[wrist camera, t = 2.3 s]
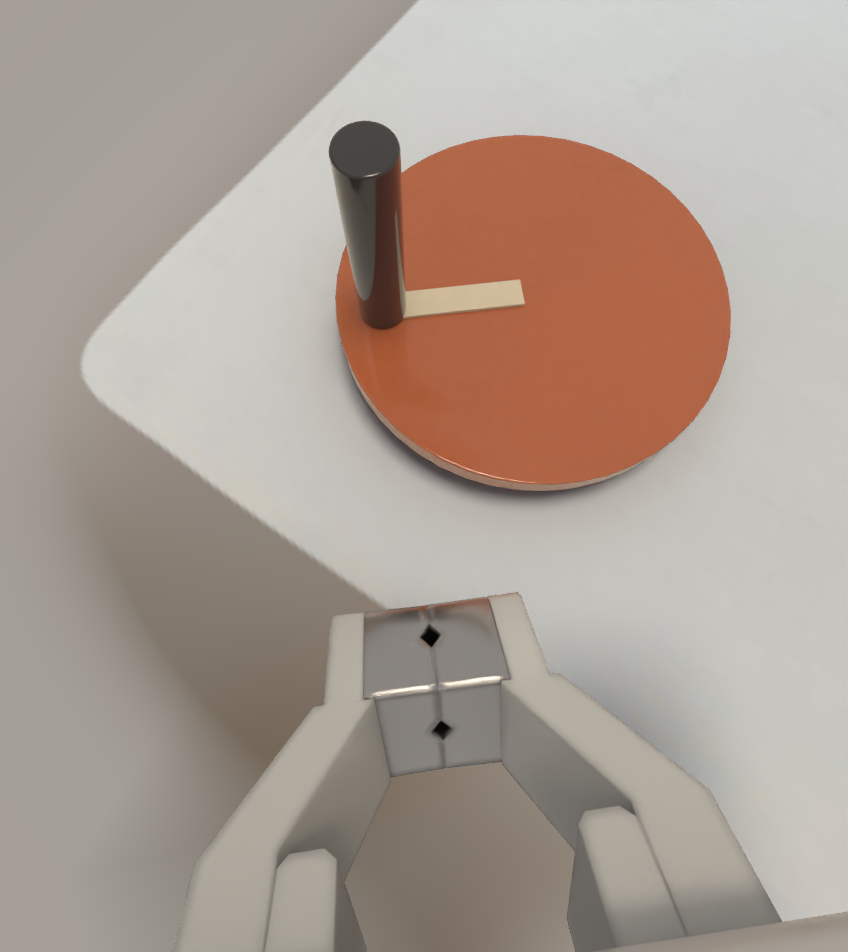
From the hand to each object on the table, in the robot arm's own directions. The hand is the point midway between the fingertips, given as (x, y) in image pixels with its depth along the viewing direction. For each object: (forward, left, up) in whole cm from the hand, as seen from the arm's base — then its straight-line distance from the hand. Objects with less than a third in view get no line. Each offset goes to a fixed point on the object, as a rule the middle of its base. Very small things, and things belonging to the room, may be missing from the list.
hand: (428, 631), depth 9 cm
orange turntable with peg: (+12, +8, -12) cm, 19 cm away
